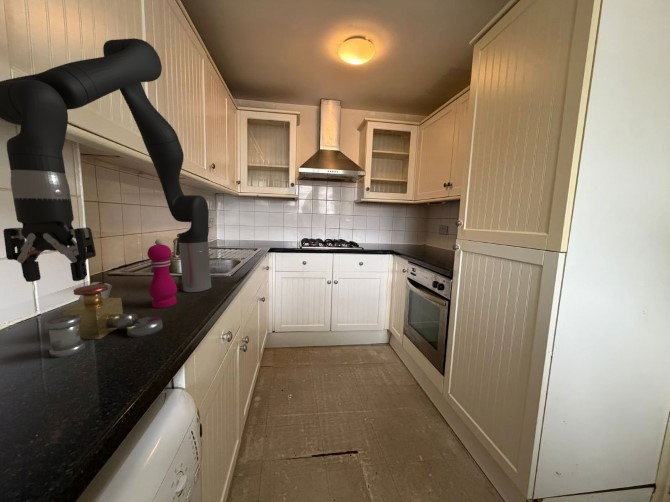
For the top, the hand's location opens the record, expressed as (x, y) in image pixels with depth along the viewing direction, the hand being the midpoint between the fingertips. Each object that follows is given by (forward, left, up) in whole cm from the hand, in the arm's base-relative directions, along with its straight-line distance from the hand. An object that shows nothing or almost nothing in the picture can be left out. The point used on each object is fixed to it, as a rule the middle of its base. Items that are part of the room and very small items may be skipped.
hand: (56, 280), depth 54 cm
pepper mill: (-27, +5, -15) cm, 31 cm away
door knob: (0, 0, -15) cm, 15 cm away
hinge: (-19, -10, -15) cm, 27 cm away
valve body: (-9, +5, -15) cm, 18 cm away
